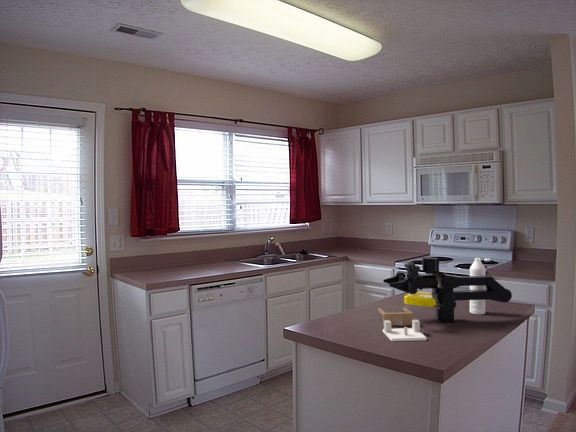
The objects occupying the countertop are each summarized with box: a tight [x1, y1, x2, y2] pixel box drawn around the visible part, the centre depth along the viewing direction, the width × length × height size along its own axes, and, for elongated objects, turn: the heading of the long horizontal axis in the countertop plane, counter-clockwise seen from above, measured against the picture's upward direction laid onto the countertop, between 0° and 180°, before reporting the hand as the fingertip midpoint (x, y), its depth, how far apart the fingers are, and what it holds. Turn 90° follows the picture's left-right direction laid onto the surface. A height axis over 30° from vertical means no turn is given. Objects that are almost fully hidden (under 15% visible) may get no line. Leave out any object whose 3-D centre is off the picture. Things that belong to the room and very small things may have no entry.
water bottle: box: [469, 257, 491, 315], centre depth 195 cm, size 9×6×25 cm
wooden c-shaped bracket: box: [377, 306, 414, 327], centre depth 183 cm, size 10×12×5 cm
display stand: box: [382, 319, 428, 342], centre depth 165 cm, size 12×13×5 cm
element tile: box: [403, 290, 438, 308], centre depth 218 cm, size 15×15×5 cm
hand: (386, 282), depth 183 cm, fingers open, 9 cm apart
